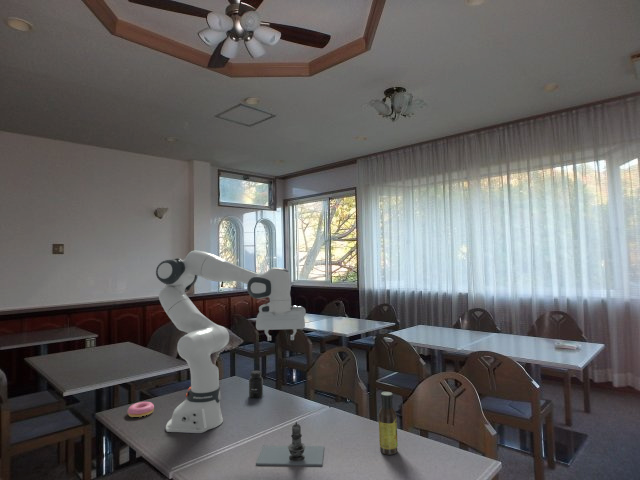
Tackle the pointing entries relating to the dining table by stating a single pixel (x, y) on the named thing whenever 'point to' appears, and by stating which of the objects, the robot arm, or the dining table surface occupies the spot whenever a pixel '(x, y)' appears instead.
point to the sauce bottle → (387, 425)
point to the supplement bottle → (255, 385)
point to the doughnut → (140, 409)
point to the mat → (282, 454)
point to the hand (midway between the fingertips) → (280, 340)
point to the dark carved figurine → (296, 444)
